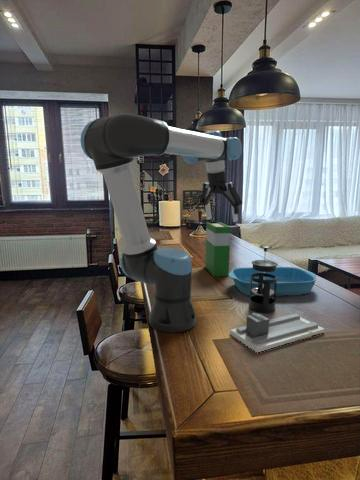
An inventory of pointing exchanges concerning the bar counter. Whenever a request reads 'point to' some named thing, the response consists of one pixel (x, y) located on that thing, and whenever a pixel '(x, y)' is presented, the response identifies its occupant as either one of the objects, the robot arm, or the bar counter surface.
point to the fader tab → (257, 325)
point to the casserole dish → (287, 280)
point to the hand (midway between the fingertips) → (222, 220)
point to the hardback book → (217, 249)
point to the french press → (263, 285)
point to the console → (278, 332)
